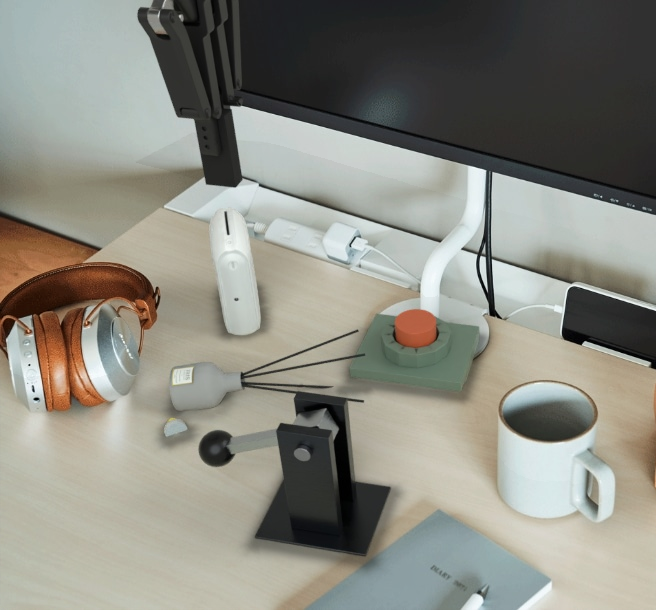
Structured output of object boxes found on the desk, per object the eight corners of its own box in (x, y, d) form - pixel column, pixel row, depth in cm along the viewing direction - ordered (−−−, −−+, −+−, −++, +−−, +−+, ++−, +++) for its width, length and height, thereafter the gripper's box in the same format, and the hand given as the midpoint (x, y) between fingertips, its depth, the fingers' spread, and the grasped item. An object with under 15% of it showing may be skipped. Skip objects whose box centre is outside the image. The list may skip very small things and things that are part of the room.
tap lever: (204, 477, 80) (185, 450, 79) (219, 451, 83) (201, 425, 81) (331, 454, 75) (313, 426, 74) (343, 428, 78) (326, 400, 76)
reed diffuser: (163, 339, 94) (359, 315, 94) (185, 370, 99) (369, 347, 100) (157, 432, 88) (364, 406, 89) (180, 458, 94) (374, 434, 95)
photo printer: (264, 334, 105) (250, 241, 98) (226, 340, 104) (208, 247, 97) (256, 285, 113) (242, 196, 106) (220, 290, 112) (204, 200, 105)
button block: (350, 384, 98) (348, 354, 96) (377, 328, 106) (375, 300, 104) (461, 399, 96) (460, 369, 94) (479, 341, 104) (479, 313, 102)
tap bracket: (256, 545, 80) (235, 438, 73) (288, 479, 87) (272, 375, 79) (366, 564, 79) (356, 456, 71) (391, 495, 85) (384, 390, 78)
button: (390, 346, 98) (389, 330, 97) (401, 321, 101) (400, 306, 100) (431, 351, 97) (430, 335, 96) (440, 326, 101) (440, 311, 99)
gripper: (182, -91, 60) (234, 224, 73) (259, -129, 70) (292, 153, 84) (76, -97, 61) (147, 214, 74) (167, -134, 71) (215, 145, 85)
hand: (224, 181), depth 79 cm, fingers closed
